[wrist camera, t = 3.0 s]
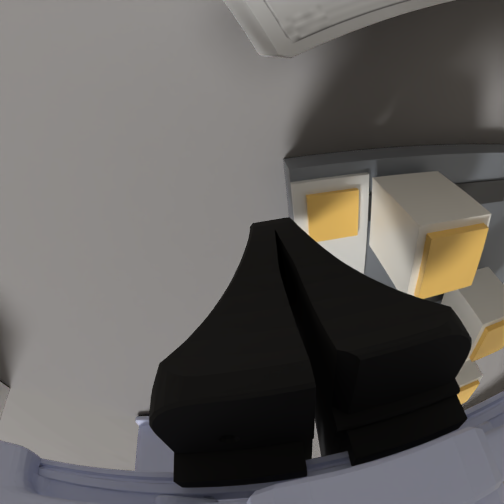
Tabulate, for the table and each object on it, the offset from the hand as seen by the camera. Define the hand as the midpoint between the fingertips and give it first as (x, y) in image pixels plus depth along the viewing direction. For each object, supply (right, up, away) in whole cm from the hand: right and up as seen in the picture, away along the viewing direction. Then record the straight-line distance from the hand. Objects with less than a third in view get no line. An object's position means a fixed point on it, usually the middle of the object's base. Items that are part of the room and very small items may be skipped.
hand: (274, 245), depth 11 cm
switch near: (+5, +2, +1) cm, 6 cm away
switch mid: (+11, -2, +4) cm, 12 cm away
